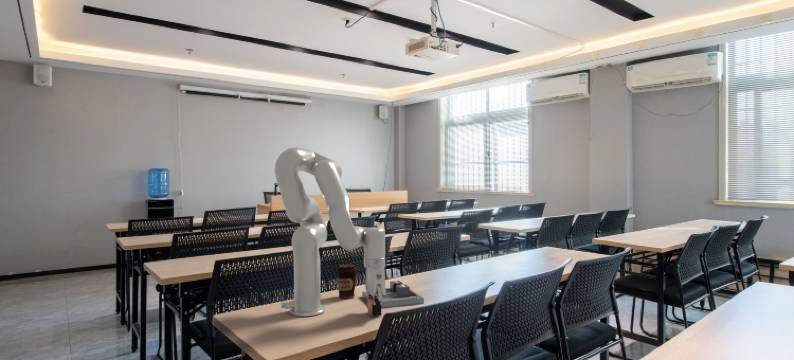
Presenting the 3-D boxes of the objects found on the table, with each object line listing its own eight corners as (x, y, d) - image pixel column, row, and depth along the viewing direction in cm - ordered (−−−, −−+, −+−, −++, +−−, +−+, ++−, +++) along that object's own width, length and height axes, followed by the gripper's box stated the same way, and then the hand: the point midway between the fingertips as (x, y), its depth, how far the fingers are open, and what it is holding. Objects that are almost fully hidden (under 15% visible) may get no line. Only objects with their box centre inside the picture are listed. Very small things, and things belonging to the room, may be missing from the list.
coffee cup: (353, 301, 177) (353, 268, 177) (333, 299, 179) (333, 267, 178) (359, 295, 185) (359, 263, 185) (340, 293, 187) (340, 263, 187)
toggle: (400, 297, 173) (399, 287, 173) (396, 295, 177) (396, 284, 176) (409, 296, 174) (409, 286, 174) (405, 294, 178) (405, 284, 178)
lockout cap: (369, 317, 157) (369, 300, 156) (365, 313, 161) (365, 296, 161) (383, 315, 158) (383, 299, 158) (379, 311, 163) (379, 295, 163)
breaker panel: (374, 308, 167) (374, 292, 167) (362, 296, 183) (362, 281, 183) (423, 303, 174) (423, 287, 173) (407, 292, 190) (407, 277, 189)
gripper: (392, 266, 153) (392, 319, 153) (377, 257, 169) (377, 305, 169) (371, 268, 150) (371, 321, 151) (358, 258, 166) (357, 307, 167)
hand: (374, 312), depth 160 cm, fingers closed on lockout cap, 4 cm apart
